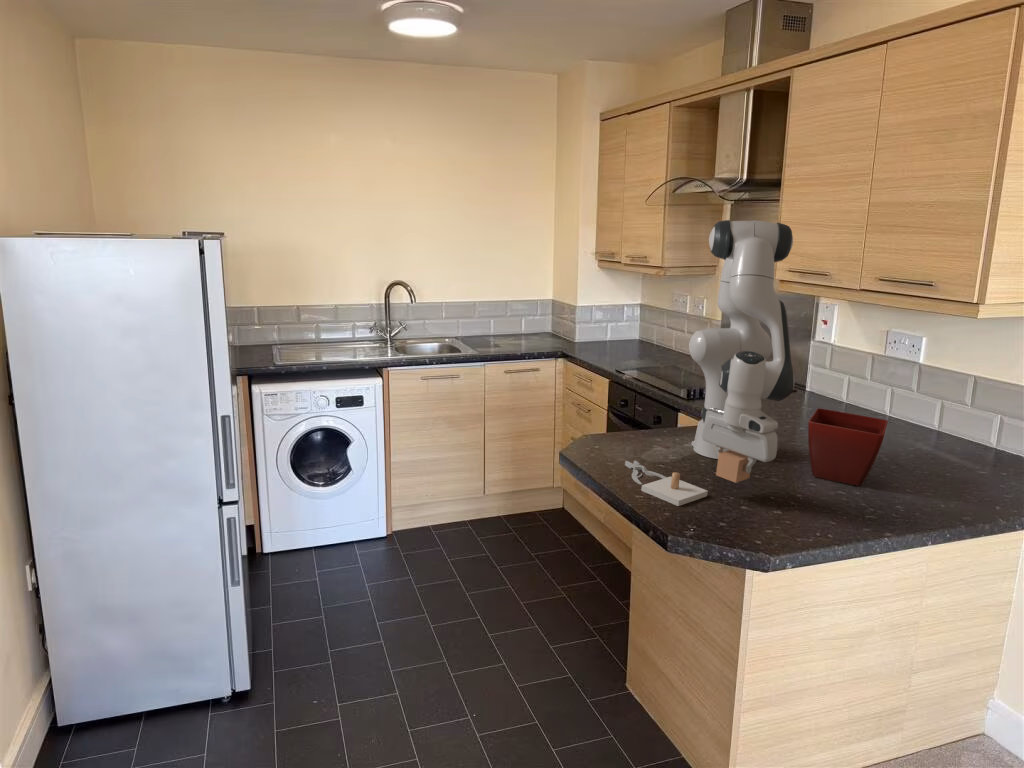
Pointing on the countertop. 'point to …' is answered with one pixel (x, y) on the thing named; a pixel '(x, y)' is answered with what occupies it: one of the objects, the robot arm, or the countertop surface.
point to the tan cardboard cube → (732, 466)
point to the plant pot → (844, 445)
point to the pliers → (638, 467)
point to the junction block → (674, 490)
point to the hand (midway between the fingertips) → (734, 467)
